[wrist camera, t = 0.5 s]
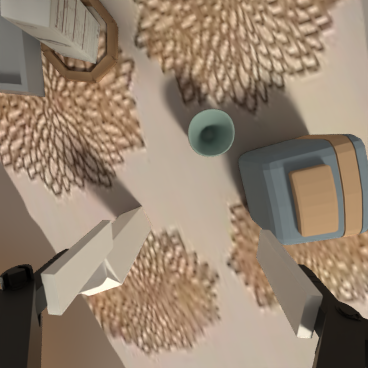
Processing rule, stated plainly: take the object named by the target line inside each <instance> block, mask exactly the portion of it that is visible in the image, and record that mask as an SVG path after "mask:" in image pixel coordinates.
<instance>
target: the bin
mask: <svg viewBox="0 0 368 368" xmlns="http://www.w3.org/2000/svg"><path fill="white" fill-rule="evenodd" d="M0 93H8V94H19V95H31V96H42V97H45V93H44V81H43V69H42V57H41V45H40V41H39V40H38V39H36V38H35V37H33V36H31V35H30V34H28V33H27V32H25V31H24V30H22V29H21V28H19V27H18V26H16V25H14V24H13V23H11V22H10V21H8V20H7V19H5V18H4V17H2V16H1V11H0Z"/></svg>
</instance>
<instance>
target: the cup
mask: <svg viewBox="0 0 368 368" xmlns="http://www.w3.org/2000/svg"><path fill="white" fill-rule="evenodd" d="M234 136H235V129H234V124H233V121H232V119H231V117H230V116H229V115H228V114H227V113H226V112H224V111H222V110H219V109H207V110H203V111H201V112H199V113H197V114H196V115H195V116H194V117H193V118H192V120H191V121H190V124H189V127H188V139H189V143H190V146H191V147H192V149H193V150H194V151H195V152H196V153H197V154H199V155H202V156H205V157H214V156H219V155H221V154H223V153H225V152H226V151H227V150H228V149H229V148H230V147H231V145H232V143H233V140H234Z"/></svg>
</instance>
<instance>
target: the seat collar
mask: <svg viewBox="0 0 368 368" xmlns="http://www.w3.org/2000/svg"><path fill="white" fill-rule="evenodd" d="M80 1H81V2H82V3H83V5H84V6H92V7H94V8H95V10H96V11H97V12H98V13H99V15H100V16H101V17H102V19H103V20H104V21H105V22H106V24H107V55H106V56H105V57H104V58H103V59H102V60H101V61H100V63H99V64H98V65H97V66H96V67H95V68H94V69H93V70H92V71H91V72H79V71H69V69H68V68H67V67H66V66H65V65H64V64H63V62H62V61H61V60H60V59H59V58H58V57H57V55H56V54H55V53H54V50H53V49H51V48H50V47H48V46H47V45H45V44H44V43H42V42H41V50H42V51H43V52H44V53H43V54H44V56H45V57H46V58H47V59H48V60H49V61H50V63H51V64H52V65H53V66H54V67H55V68H56V69H57V71H58V72H59V73H60V74H61V75H62V76H63V77H64V78H66V79H68V80H70V81H77V82H89V83H96V81H97V82H99V81H100V80H101V79H102V78H103V77H104V76H105V75H106V74H107V73H108V72H109V71H110V69H111V68H112V67H113V66H114V65H115V64H116V63H117V62H116V61H115V60H118V27H117V24H116V22H115V21H114V19H113V18H112V17H111V15H110V14H109V13H108V11H107V10H106V9H105V8H104V6H103V5H102V4H101V2H100V1H99V0H80ZM114 59H115V60H114Z"/></svg>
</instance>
